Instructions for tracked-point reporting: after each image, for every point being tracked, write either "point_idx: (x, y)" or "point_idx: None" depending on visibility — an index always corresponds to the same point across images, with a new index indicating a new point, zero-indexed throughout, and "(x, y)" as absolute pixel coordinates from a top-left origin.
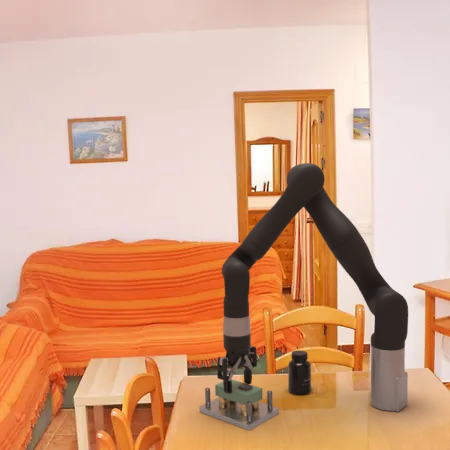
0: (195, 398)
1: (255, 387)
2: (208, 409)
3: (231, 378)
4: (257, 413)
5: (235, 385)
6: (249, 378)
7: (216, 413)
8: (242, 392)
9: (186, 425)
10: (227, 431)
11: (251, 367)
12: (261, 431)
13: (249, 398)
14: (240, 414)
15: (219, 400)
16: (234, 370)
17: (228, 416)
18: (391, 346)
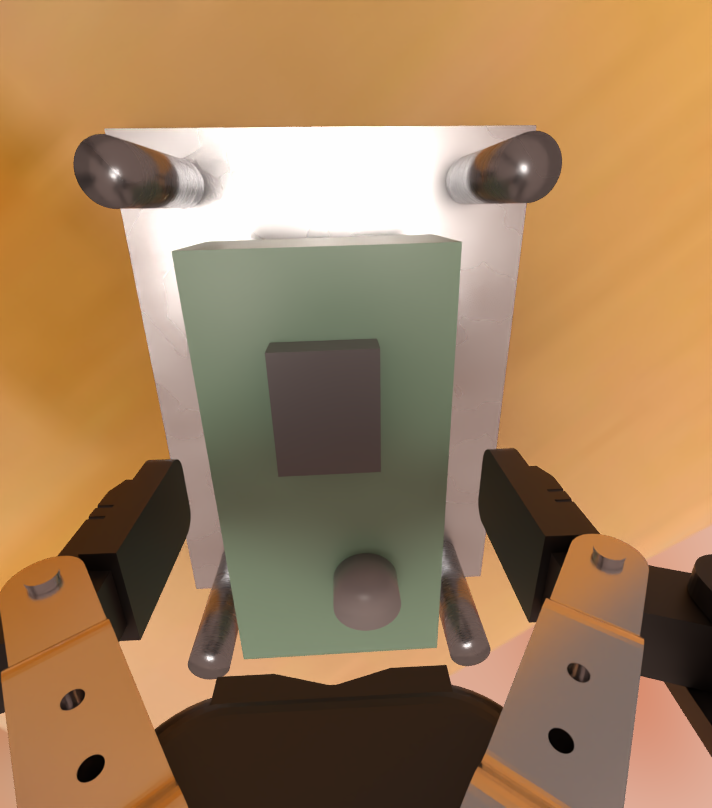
0: (351, 663)
1: (214, 339)
2: (478, 520)
3: (569, 555)
4: (321, 217)
5: (326, 529)
6: (155, 499)
7: None
8: (431, 362)
9: (642, 498)
10: (602, 262)
11: (38, 601)
12: (477, 35)
13: (439, 240)
14: None
15: None
16: (600, 645)
17: (494, 361)
18: None
